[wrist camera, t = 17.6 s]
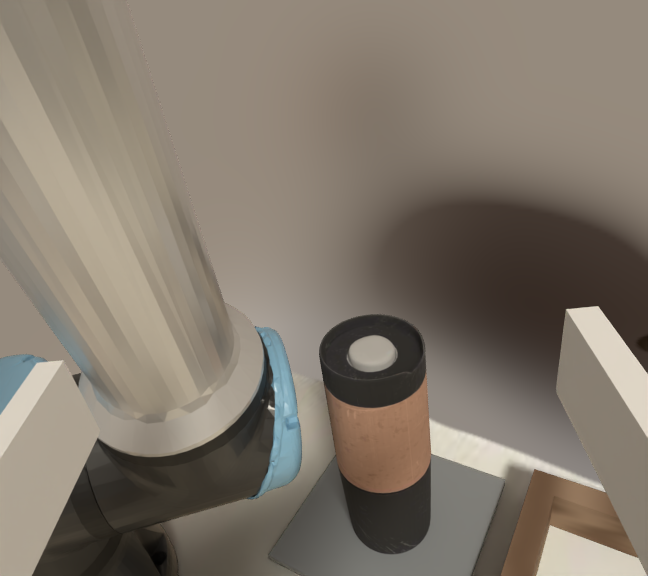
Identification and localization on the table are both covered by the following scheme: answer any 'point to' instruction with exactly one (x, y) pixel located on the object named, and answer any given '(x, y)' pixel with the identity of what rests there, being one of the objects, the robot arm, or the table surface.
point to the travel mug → (380, 428)
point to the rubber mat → (393, 569)
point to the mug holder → (561, 521)
